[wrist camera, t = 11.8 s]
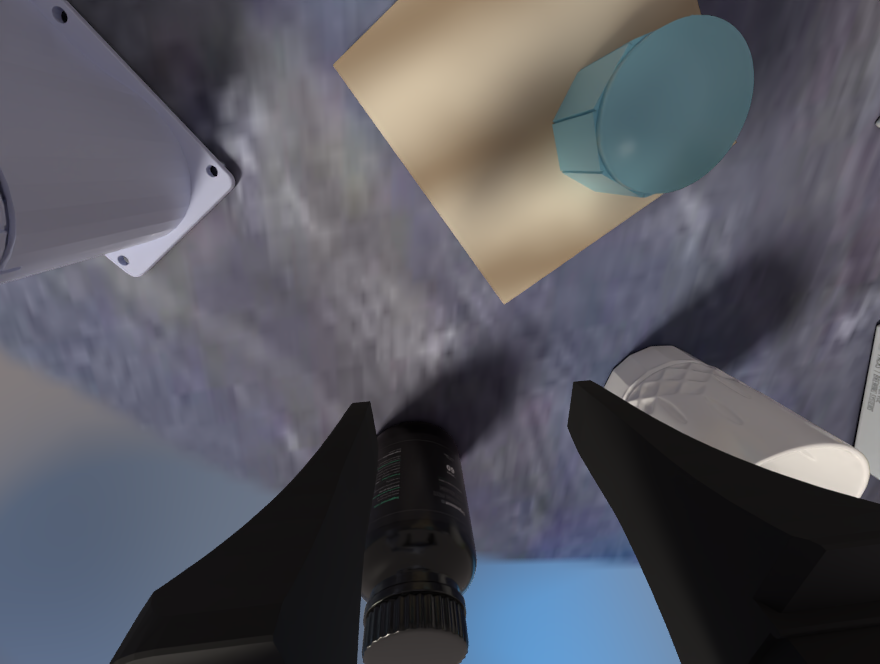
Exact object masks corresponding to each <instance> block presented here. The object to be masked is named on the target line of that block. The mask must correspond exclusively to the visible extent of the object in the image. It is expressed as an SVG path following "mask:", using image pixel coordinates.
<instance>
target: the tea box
mask: <svg viewBox="0 0 880 664" xmlns="http://www.w3.org/2000/svg"><path fill="white" fill-rule="evenodd" d="M854 448H856V449H858V450H859V451H860V452H862V453H863V454H864V455H865V457H866V458H867V460H868V462H869V466H870V474H871V475H873V476H874V477H876V478H877V479H879V480H880V324H879V325H877V327H876V333H875V340H874V345H873V350H872V355H871V361H870V366H869V372H868V377H867V382H866V387H865V393H864V398H863V404H862V409H861V414H860V420H859V425H858V430H857V435H856V441H855V446H854Z"/></svg>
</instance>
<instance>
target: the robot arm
mask: <svg viewBox="0 0 880 664" xmlns="http://www.w3.org/2000/svg"><path fill="white" fill-rule="evenodd" d="M63 11H65V12H66V14H67V17H68V20H67V22H66V23H64V22H63V20H62V17H61V14H62V12H63ZM211 166H214V167H216V169H217V170H218V175H217V176H216V177H215V176H214V175H212V173H211V171H210V168H211ZM234 186H235V179H234V177H233V175H232V174H231V173H230V172H229V171H228V170H227V168H226V167H225V166H224V165H223V164H222V163H221V162H220V161H219V160H218V159H217V158H216V157H215V156H214V155H213V154H212V153H211V152H210V151H209V150H208V148H207V147H206V146H205V145H204V144H203V143H202V142H201V141H200V140H199V139H198V138H197V137H196V136H195V135H194V134H193V133H192V132H191V131H190V130H189V128H188V127H187V126H186V125H185V124H184V123H183V122H182V121H181V120H180V119H179V118H178V117H177V116H176V115H175V114H174V113H173V112H172V111H171V110H170V109H169V107H168V106H167V105H166V104H165V103H164V102H163V101H162V100H161V99H160V98H159V97H158V96H157V95H156V94H155V93H154V92H153V91H152V90H151V89H150V87H149V86H148V85H147V84H146V83H145V82H144V81H143V80H142V79H141V78H140V77H139V76H138V75H137V74H136V73H135V72H134V71H133V70H132V69H131V67H130V66H129V65H128V64H127V63H126V62H125V61H124V60H123V59H122V58H121V57H120V56H119V55H118V54H117V53H116V52H115V51H114V50H113V49H112V48H111V46H110V45H109V44H108V43H107V42H106V41H105V40H104V39H103V38H102V37H101V36H100V35H99V34H98V33H97V32H96V31H95V30H94V29H93V28H92V26H91V25H90V24H89V23H88V22H87V21H86V20H85V19H84V18H83V17H82V16H81V15H80V14H79V13H78V12H77V11H76V10H75V9H74V8H73V6H72V5H71V4H70V3H69V2H68V1H67V0H0V284H3V283H6V282H10V281H13V280H17V279H20V278H24V277H27V276H31V275H34V274H38V273H41V272H45V271H48V270H52V269H55V268H59V267H62V266H66V265H69V264H73V263H76V262H80V261H83V260H87V259H90V258H94V257H98V256H101V255H105V256H106V257H107V258H109V259H110V260H111V261H112V262H114V263H115V264H116V265H117V266H119V267H120V268H121V269H122V270H124V271H125V272H126V273H127V274H129V275H131V276H134V277H139V276H142V275H144V274H146V273H147V272H148V271H149V270H150V269H151V268H152V267H153V266H154V265H155V264H156V263H157V262H158V261H159V260H160V259H161V258H162V257H163V256H164V255H165V254H166V253H168V252H169V251H170V250H171V249H172V248H173V247H174V246H175V245H176V244H177V243H178V242H179V241H180V240H181V239H182V238H183V237H184V236H185V235H186V234H187V233H188V232H189V231H190V230H191V229H192V228H193V227H194V226H195V225H196V224H197V223H198V222H199V221H200V220H201V219H202V218H203V217H205V216H206V215H207V214H208V213H209V212H210V211H211V210H212V209H213V208H214V207H215V206H216V205H217V204H218V203H219V202H220V201H221V200H222V199H223V198H224V197H225V196H226V195H227V194H228V193H229V192H230V191H231V190H232V189H233V188H234ZM123 256H125V257H126V258H127V259H128V260H129V263H127V262H126V261H125V260H124V258H123ZM567 427H568V429H569V432H570V434H571V437H572V439H573V441H574V444H575V446H576V448H577V450H578V452H579V454H580V456H581V458H582V459H583V461H584V463H585V465H586V466H587V468H588V470H589V471H590V473H591V475H592V476H593V478H594V480H595V481H596V483H597V485H598V486H599V488H600V490H601V491H602V493H603V495H604V496H605V498H606V499H607V501H608V503H609V504H610V506H611V508H612V509H613V511H614V513H615V515H616V517H617V518H618V520H619V522H620V524H621V526H622V528H623V530H624V532H625V534H626V536H627V538H628V540H629V543H630V545H631V547H632V549H633V551H634V553H635V555H636V557H637V559H638V562H639V564H640V566H641V568H642V570H643V573H644V575H645V577H646V579H647V582H648V584H649V586H650V588H651V590H652V593H653V595H654V598H655V600H656V602H657V605H658V607H659V610H660V612H661V614H662V617H663V619H664V621H665V623H666V626H667V629H668V631H669V633H670V636H671V639H672V641H673V644H674V646H675V649H676V652H677V654H678V657H679V659H680V662H681V664H880V504H878V503H874V502H871V501H867V500H864V499H860V498H857V497H853V496H850V495H846V494H843V493H839V492H836V491H832V490H829V489H825V488H822V487H819V486H815V485H812V484H809V483H806V482H803V481H800V480H797V479H794V478H791V477H788V476H785V475H782V474H780V473H777V472H774V471H771V470H768V469H766V468H763V467H760V466H758V465H755V464H753V463H750V462H747V461H745V460H742V459H740V458H737V457H735V456H732V455H730V454H728V453H725V452H723V451H720V450H718V449H716V448H714V447H712V446H709V445H707V444H705V443H703V442H701V441H698V440H696V439H694V438H692V437H690V436H688V435H686V434H684V433H682V432H680V431H678V430H676V429H674V428H672V427H671V426H669V425H667V424H665V423H663V422H661V421H659V420H657V419H656V418H654V417H652V416H650V415H649V414H647V413H645V412H643V411H642V410H640V409H638V408H637V407H635V406H633V405H632V404H630V403H628V402H627V401H625V400H623V399H622V398H620V397H618V396H617V395H615V394H613V393H612V392H610V391H608V390H607V389H605V388H603V387H602V386H600V385H598V384H596V383H594V382H593V381H591V380H588V381H578V382H573V389H572V396H571V403H570V411H569V418H568V425H567ZM377 466H378V441H377V435H376V430H375V425H374V419H373V414H372V409H371V403H370V401H369V402H359V403H352V404H351V405H350V407H349V408H348V410H347V411H346V412H345V414H344V415H343V417H342V418H341V420H340V421H339V423H338V424H337V425H336V427H335V428H334V430H333V431H332V432H331V434H330V435H329V436H328V438H327V439H326V440H325V442H324V443H323V444H322V446H321V447H320V448H319V450H318V451H317V452H316V453H315V454H314V456H313V457H312V458H311V459H310V460H309V462H308V463H307V464H306V465H305V466H304V468H303V469H302V470H301V471H300V472H299V473H298V474H297V476H296V477H295V478H294V479H293V480H292V481H291V482H290V483H289V484H288V485H287V486H286V487H285V488H284V489H283V490H282V491H281V492H280V493H279V494H278V495H277V496H276V497H275V498H274V499H273V500H272V501H271V502H270V503H269V504H268V505H267V506H265V507H264V508H263V509H262V510H261V511H260V512H259V513H258V514H257V515H255V516H254V517H253V518H252V519H251V520H250V521H249V522H248V523H246V524H245V525H244V526H243V527H242V528H240V529H239V530H238V531H237V532H236V533H234V534H233V535H232V536H231V537H229V538H228V539H227V540H226V541H224V542H223V543H222V544H220V545H219V546H218V547H216V548H215V549H214V550H213V551H211V552H210V553H209V554H207V555H206V556H205V557H203V558H202V559H201V560H199V561H198V562H196V563H195V564H193V565H192V566H190V567H189V568H188V569H186V570H185V571H184V572H182V573H181V574H179V575H178V576H176V577H175V578H173V579H172V580H171V581H169V582H168V583H166V584H165V585H164V586H162V587H160V588H159V589H157V590H156V591H154V592H153V594H152V595H151V597H150V598H149V600H148V602H147V603H146V604H145V606H144V607H143V609H142V610H141V612H140V614H139V615H138V617H137V618H136V620H135V622H134V623H133V625H132V627H131V629H130V630H129V632H128V633H127V635H126V637H125V638H124V640H123V642H122V643H121V646H120V647H119V649H118V650H117V652H116V654H115V655H114V657H113V659H112V660H111V662H110V664H357V652H358V634H359V617H360V601H361V587H362V575H363V562H364V551H365V543H366V536H367V530H368V525H369V519H370V513H371V507H372V501H373V495H374V489H375V483H376V477H377Z"/></svg>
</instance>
